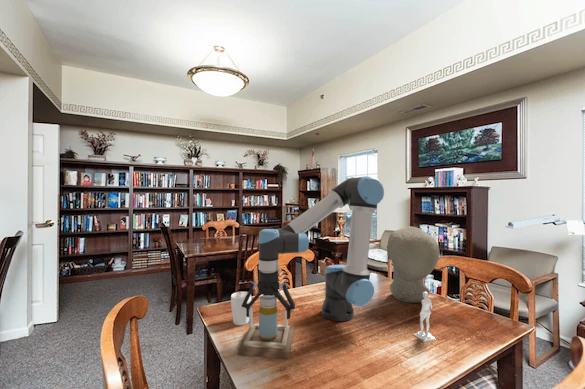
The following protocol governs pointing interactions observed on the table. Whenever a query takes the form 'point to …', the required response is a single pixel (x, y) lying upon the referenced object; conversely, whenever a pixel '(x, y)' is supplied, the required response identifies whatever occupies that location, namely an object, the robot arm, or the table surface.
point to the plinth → (267, 343)
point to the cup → (239, 308)
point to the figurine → (425, 315)
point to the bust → (411, 262)
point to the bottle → (268, 317)
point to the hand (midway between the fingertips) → (268, 326)
